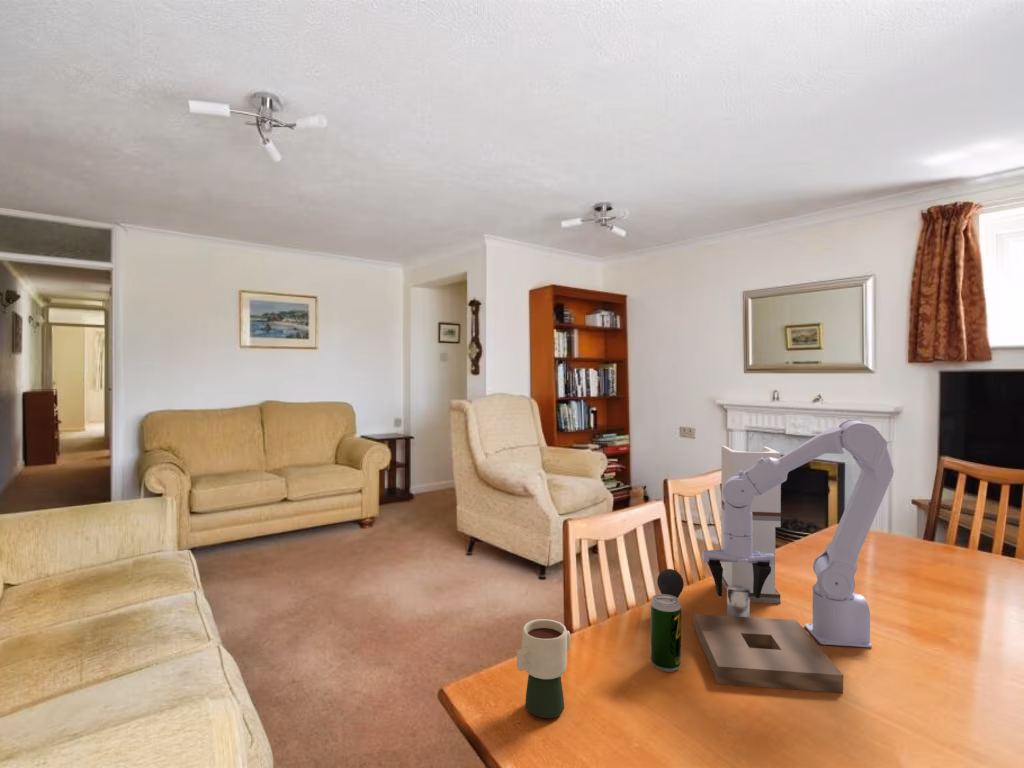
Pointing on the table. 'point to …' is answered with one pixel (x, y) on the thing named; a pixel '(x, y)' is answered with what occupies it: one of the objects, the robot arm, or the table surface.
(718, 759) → the table surface
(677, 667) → the green drink can
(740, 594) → the shiny metal cylinder
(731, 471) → the tall white column
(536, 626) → the character mug
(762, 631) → the housing block
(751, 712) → the table surface
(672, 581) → the light bulb
